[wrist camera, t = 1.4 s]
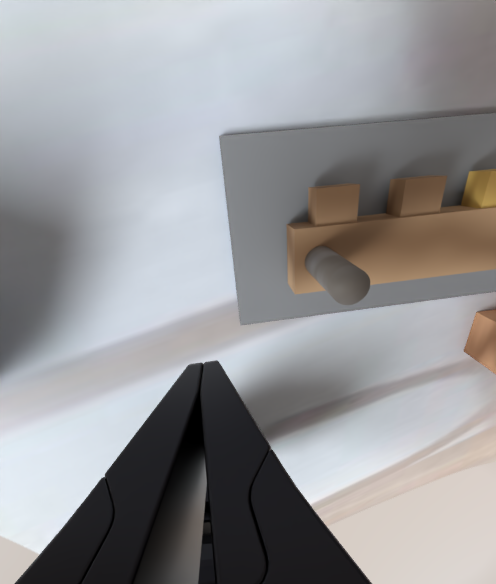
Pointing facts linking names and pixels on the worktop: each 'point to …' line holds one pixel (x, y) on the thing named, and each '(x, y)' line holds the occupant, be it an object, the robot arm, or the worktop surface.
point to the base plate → (372, 200)
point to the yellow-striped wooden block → (483, 339)
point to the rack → (391, 236)
